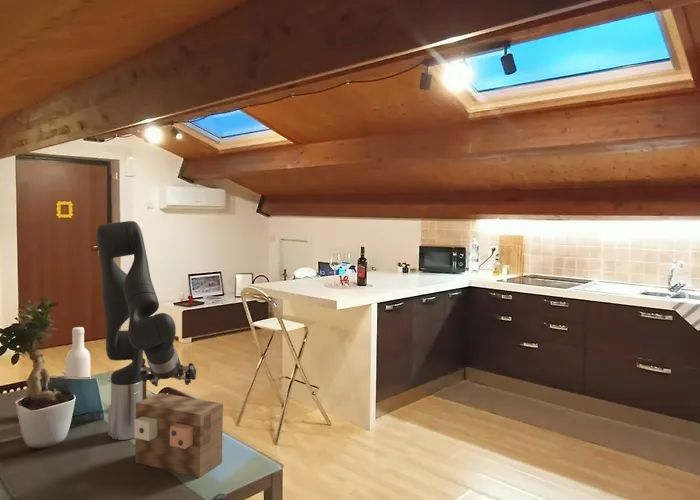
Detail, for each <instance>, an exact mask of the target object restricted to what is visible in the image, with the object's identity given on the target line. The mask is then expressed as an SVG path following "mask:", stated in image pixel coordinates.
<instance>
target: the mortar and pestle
mask: <svg viewBox="0 0 700 500" xmlns="http://www.w3.org/2000/svg"><path fill="white" fill-rule="evenodd" d="M142 365H146V359H145V358H144V357H143V362H142ZM146 398H148V397H147V381H145V382H144V381H143V383H142V400H144V399H146Z"/></svg>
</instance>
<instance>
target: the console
mask: <svg viewBox="0 0 700 500" xmlns="http://www.w3.org/2000/svg"><path fill="white" fill-rule="evenodd" d="M142 416H149V417H154V418H158V437H156V438H154V439H152V440H150V441H147V440H142V439H138V438H135V452H134V453H135V455H134V456H135V463H137V464H142V465H146V466H150V467H152V468H153V467H154V468H158V469H162V470H166V471H170V472H174V473H178V474H183V475H188V476H192V477H196V478H199V479H201V478H202V477H203V476H204V475H206V474H207V473H209V472H210V471H212V470H214V469H215V468H217V467H218V466H219V465H221V464H222V463H223V430H224V429H223V426H224V425H223V424H224V423H223V422H224V420H223V419H224V403H221V402H215V401H210V400H204V399H200V398H199V399H198V398H194V397H187V396H182V395H181V396H180V395H178V394H177V395H176V394H170V393H164V392H160V393H157V394H154V395H152V396H149V397H147V398H146V399H144V400H141V401H139V402H136V419H138V418H140V417H142ZM177 423H185V424H190V425H194V435H193V445H191V446H189V447H187V448H186V449H183V448H179V447H174V446H170V427H171V426H173V425H175V424H177Z"/></svg>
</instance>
